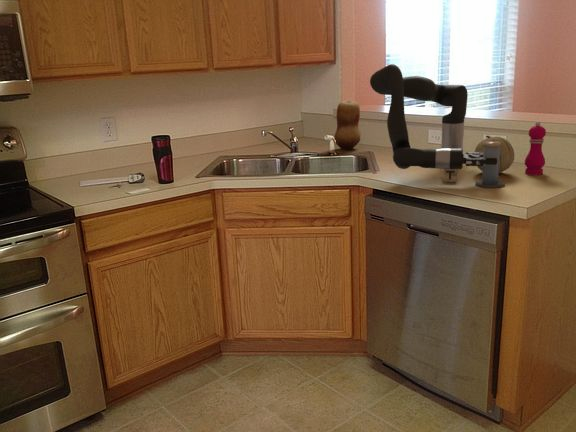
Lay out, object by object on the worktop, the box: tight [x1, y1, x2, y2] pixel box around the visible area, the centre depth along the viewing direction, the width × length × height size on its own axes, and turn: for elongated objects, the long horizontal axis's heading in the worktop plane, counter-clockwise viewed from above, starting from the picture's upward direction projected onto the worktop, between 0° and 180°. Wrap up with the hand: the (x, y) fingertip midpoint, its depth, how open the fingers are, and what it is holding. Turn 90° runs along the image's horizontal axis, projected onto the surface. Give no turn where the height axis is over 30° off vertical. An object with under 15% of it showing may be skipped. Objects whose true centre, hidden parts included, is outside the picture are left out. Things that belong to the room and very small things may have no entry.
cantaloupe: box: [474, 135, 515, 174], centre depth 209 cm, size 15×15×15 cm
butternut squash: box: [333, 100, 361, 150], centre depth 279 cm, size 14×13×25 cm
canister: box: [481, 141, 501, 185], centre depth 191 cm, size 6×6×15 cm
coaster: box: [475, 180, 506, 189], centre depth 194 cm, size 10×10×1 cm
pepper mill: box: [524, 121, 547, 176], centre depth 205 cm, size 7×7×20 cm
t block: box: [442, 169, 458, 183], centre depth 203 cm, size 5×5×5 cm
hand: (496, 159), depth 190 cm, fingers open, 8 cm apart
